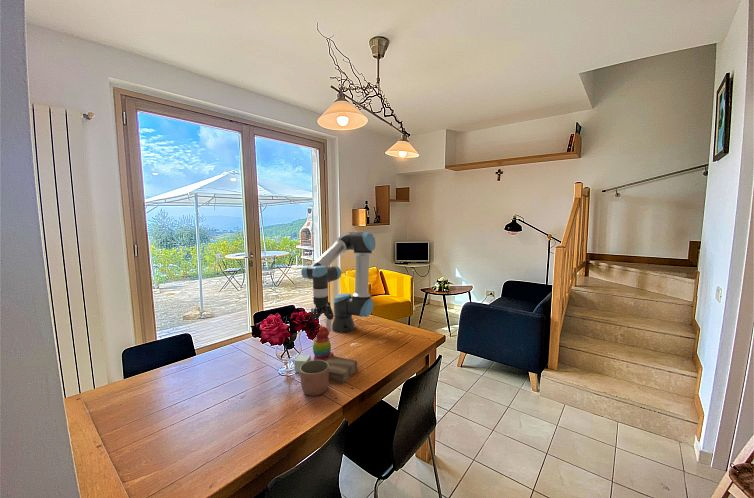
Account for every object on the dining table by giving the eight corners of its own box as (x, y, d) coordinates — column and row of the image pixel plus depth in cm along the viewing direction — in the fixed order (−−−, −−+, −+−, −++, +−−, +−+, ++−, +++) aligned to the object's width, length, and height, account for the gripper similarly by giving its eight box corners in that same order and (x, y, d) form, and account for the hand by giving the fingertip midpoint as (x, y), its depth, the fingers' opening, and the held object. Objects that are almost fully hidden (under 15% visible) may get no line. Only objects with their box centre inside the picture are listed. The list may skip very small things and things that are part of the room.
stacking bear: (330, 364, 156) (329, 330, 154) (311, 364, 156) (309, 330, 154) (334, 354, 166) (333, 322, 164) (315, 354, 167) (314, 323, 165)
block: (299, 366, 154) (299, 354, 153) (311, 367, 153) (310, 355, 152) (294, 372, 148) (294, 360, 147) (306, 373, 147) (306, 361, 147)
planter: (319, 379, 141) (318, 357, 140) (335, 390, 132) (334, 366, 131) (295, 390, 133) (294, 366, 131) (311, 402, 124) (309, 377, 123)
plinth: (332, 365, 155) (332, 355, 155) (357, 370, 150) (357, 360, 149) (316, 378, 142) (316, 368, 142) (343, 385, 137) (342, 374, 136)
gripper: (327, 290, 170) (328, 326, 172) (299, 301, 147) (300, 343, 150) (339, 291, 167) (340, 328, 169) (312, 302, 144) (313, 345, 147)
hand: (321, 335), depth 159 cm, fingers open, 13 cm apart
